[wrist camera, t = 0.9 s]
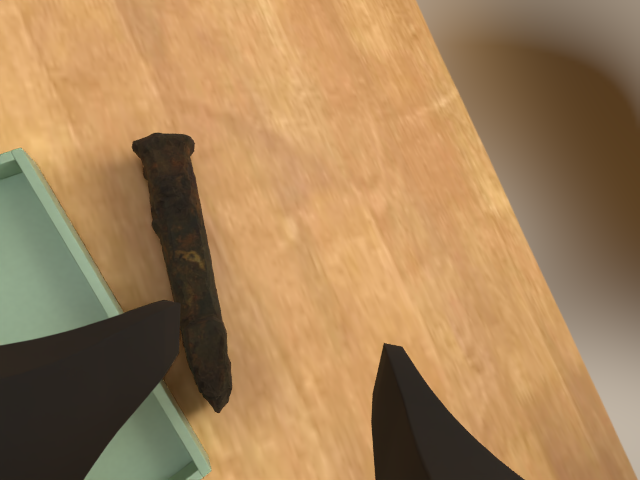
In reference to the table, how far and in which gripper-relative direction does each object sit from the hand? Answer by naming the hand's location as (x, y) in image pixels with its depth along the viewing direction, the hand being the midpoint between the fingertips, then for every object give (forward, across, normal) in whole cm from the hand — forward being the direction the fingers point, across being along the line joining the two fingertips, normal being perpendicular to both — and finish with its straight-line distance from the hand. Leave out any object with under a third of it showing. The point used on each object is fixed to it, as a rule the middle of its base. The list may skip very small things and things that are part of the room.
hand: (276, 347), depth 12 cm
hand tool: (+13, +9, +4) cm, 17 cm away
